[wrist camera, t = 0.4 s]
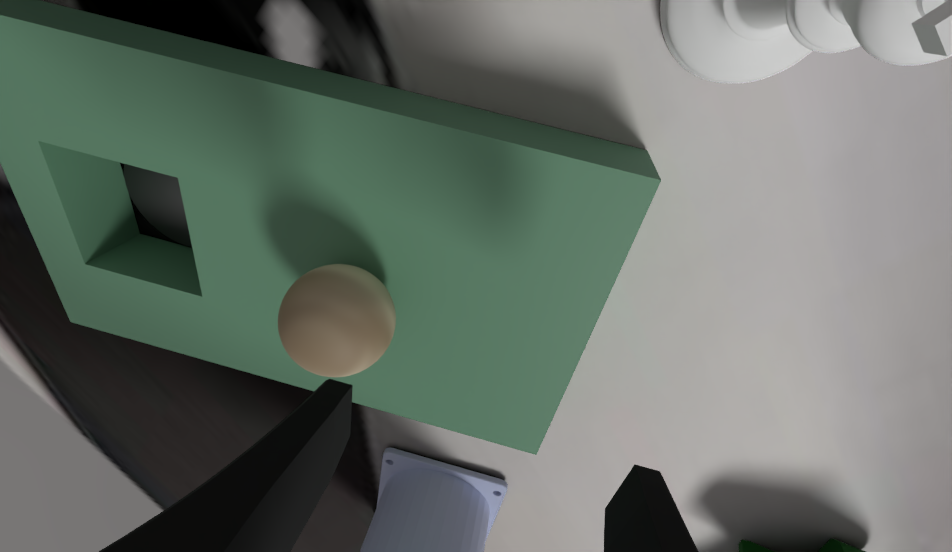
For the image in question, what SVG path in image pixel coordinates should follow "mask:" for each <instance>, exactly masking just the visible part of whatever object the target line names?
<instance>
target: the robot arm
mask: <svg viewBox="0 0 952 552" xmlns="http://www.w3.org/2000/svg"><path fill="white" fill-rule="evenodd" d="M352 389H353V385H351V384H347V383H343V382H340V381H336V380H333V379H328V380H326V381H325V382H324V383H322V384H321V385H320V386H319V387H318V388H317V389H316V390H315V391H314V392H313V393H312V394H311V395H310V396H309V397H308V398H307V399H306V400H305V401H304V402H303V403H301V404H300V405H299V406H298V407H297V408H296V409H295V410H294V411H293V412H291V413H290V414H289V415H288V416H287V417H286V418H285V419H284V420H282V421H281V422H280V423H279V424H278V425H277V426H275V427H274V428H273V429H272V430H271V431H270V432H268V433H267V434H266V435H265V436H264V437H262V438H261V439H260V440H259V441H258V442H256V443H255V444H254V445H253V446H252V447H250V448H249V449H248V450H247V451H245V452H244V453H243V454H241V455H240V456H239V457H238V458H236V459H235V460H234V461H232V462H231V463H230V464H229V465H227V466H226V467H225V468H223V469H222V470H221V471H219V472H218V473H217V474H216V475H214V476H213V477H212V478H210V479H209V480H207V481H206V482H205V483H203V484H202V485H201V486H199V487H198V488H196V489H195V490H194V491H192V492H191V493H189V494H188V495H186V496H185V497H183V498H182V499H181V500H179V501H178V502H176V503H175V504H173V505H172V506H170V507H169V508H167V509H166V510H164V511H163V512H161V513H160V514H158V515H157V516H155V517H154V518H152V519H150V520H149V521H147V522H146V523H144V524H143V525H141V526H140V527H138V528H136V529H135V530H134V531H132V532H130V533H128V534H127V535H125V536H124V537H122V538H121V539H119V540H117V541H116V542H114V543H112V544H111V545H109V546H107V547H106V548H104V549H102V550H101V551H99V552H290V551H291V550H292V548H293V546H294V544H295V543H296V541H297V539H298V537H299V535H300V534H301V532H302V530H303V528H304V526H305V525H306V523H307V521H308V519H309V518H310V516H311V514H312V512H313V510H314V509H315V507H316V505H317V503H318V502H319V500H320V498H321V496H322V494H323V493H324V491H325V489H326V487H327V485H328V484H329V482H330V480H331V478H332V476H333V474H334V472H335V470H336V468H337V465H338V463H339V461H340V458H341V456H342V454H343V451H344V449H345V447H346V444H347V442H348V440H349V437H350V432H351V410H352ZM507 486H508V484H507V482H505V481H504V480H502V479H499V478H495V477H492V476H488V475H485V474H481V473H478V472H475V471H471V470H468V469H464V468H461V467H457V466H454V465H450V464H447V463H443V462H440V461H436V460H433V459H430V458H426V457H423V456H419V455H416V454H412V453H409V452H405V451H402V450H398V449H395V448H386V449H385V451H384V453H383V458H382V467H381V475H380V484H379V492H378V501H377V508H376V511H375V514H374V516H373V519H372V521H371V524H370V527H369V529H368V532H367V535H366V537H365V540H364V542H363V545H362V548H361V550H360V552H484V547H485V541H486V539H487V537H488V534H489V532H490V529H491V527H492V525H493V522H494V520H495V518H496V515H497V513H498V511H499V508H500V506H501V503H502V501H503V499H504V496H505V494H506V492H507ZM604 552H698V550H697V548H696V546H695V544H694V542H693V540H692V538H691V536H690V534H689V532H688V529H687V527H686V525H685V523H684V521H683V519H682V517H681V515H680V513H679V511H678V509H677V506H676V504H675V502H674V500H673V498H672V496H671V494H670V492H669V489H668V487H667V485H666V483H665V481H664V479H663V477H662V475H661V473H660V471H656V470H653V469H649V468H645V467H642V466H638V465H634V466H633V468H632V469H631V471H630V472H629V474H628V475H627V477H626V478H625V480H624V481H623V483H622V484H621V486H620V487H619V489H618V490H617V492H616V493H615V495H614V496H613V498H612V499H611V501H610V502H609V504H608V505H607V507H606V508H605V528H604Z"/></svg>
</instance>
